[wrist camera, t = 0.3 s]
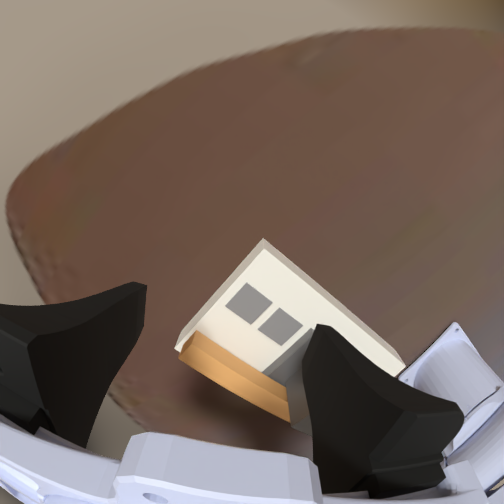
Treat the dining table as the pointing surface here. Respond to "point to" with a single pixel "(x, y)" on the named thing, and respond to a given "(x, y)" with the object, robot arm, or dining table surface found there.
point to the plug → (293, 382)
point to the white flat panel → (279, 313)
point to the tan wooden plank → (235, 374)
